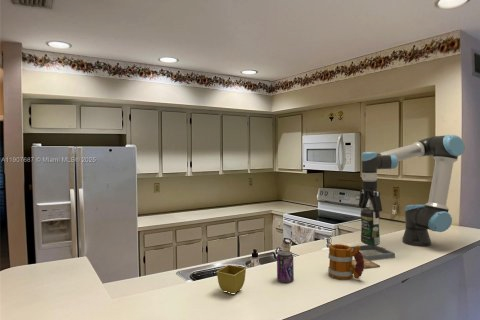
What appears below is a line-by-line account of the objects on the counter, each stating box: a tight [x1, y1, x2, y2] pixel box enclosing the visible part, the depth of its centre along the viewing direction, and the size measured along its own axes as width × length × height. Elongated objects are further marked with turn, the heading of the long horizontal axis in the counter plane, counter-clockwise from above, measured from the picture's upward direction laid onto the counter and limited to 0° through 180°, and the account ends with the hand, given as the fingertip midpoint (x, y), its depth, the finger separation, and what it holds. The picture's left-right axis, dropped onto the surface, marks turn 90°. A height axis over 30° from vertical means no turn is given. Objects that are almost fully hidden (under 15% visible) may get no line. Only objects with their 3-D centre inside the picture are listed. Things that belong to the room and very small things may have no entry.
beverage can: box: [276, 250, 295, 283], centre depth 139 cm, size 7×7×12 cm
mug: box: [327, 243, 365, 280], centre depth 142 cm, size 11×16×15 cm, turn 44°
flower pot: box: [216, 264, 247, 294], centre depth 128 cm, size 9×9×9 cm
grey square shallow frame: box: [350, 244, 396, 261], centre depth 173 cm, size 17×17×3 cm
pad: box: [352, 258, 381, 270], centre depth 157 cm, size 11×11×1 cm
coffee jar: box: [360, 208, 381, 246], centre depth 172 cm, size 10×8×19 cm
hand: (370, 222), depth 172 cm, fingers closed on coffee jar, 9 cm apart
